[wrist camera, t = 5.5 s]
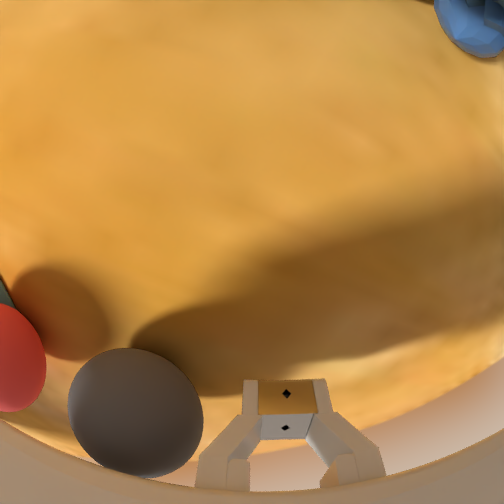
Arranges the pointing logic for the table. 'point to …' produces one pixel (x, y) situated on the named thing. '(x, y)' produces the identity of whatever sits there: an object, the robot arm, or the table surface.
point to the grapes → (473, 25)
